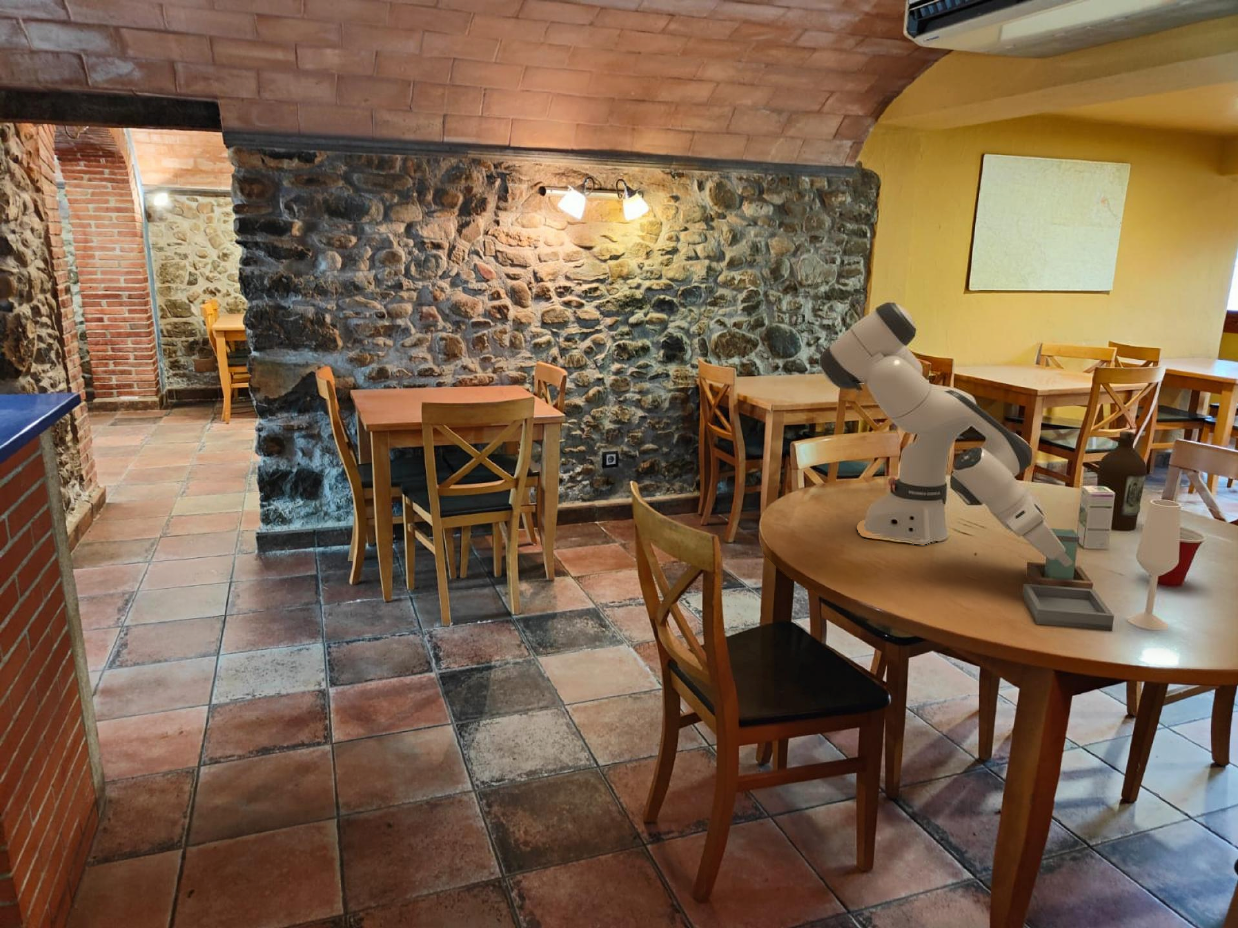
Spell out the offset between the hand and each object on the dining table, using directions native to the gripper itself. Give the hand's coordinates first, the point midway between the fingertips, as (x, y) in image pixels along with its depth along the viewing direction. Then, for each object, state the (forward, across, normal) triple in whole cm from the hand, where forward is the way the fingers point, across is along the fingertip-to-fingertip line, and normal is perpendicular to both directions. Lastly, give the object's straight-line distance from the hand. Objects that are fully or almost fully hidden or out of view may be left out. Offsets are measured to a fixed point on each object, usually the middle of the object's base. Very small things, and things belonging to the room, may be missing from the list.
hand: (1064, 556), depth 169 cm
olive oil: (+21, -47, +12) cm, 53 cm away
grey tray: (+3, +15, -6) cm, 17 cm away
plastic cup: (+21, -7, +11) cm, 24 cm away
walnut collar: (+4, 0, -5) cm, 7 cm away
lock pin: (+4, 0, -5) cm, 7 cm away
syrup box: (+14, -29, +5) cm, 33 cm away
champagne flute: (+13, +16, +3) cm, 21 cm away
